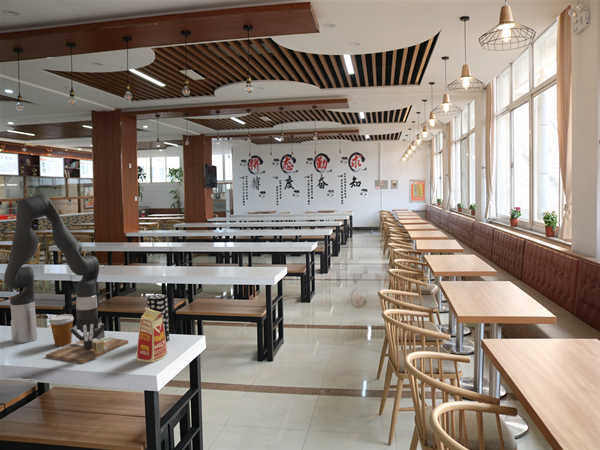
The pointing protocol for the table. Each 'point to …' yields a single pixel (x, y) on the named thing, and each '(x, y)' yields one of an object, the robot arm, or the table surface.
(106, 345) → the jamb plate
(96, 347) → the swing bar
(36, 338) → the robot arm
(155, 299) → the spotted tube
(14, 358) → the table surface
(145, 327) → the milk carton
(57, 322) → the disposable coffee cup
